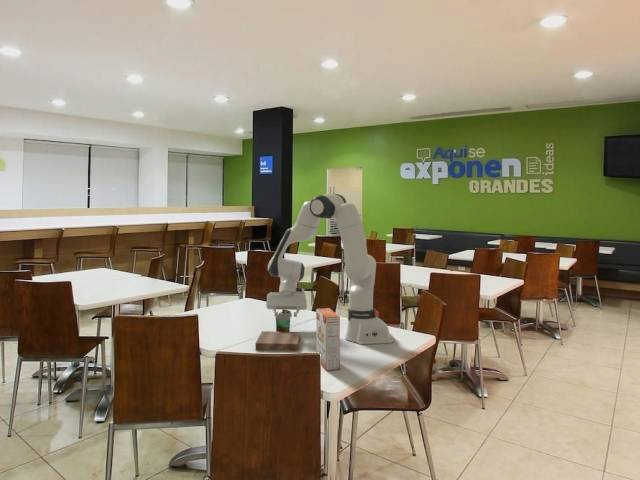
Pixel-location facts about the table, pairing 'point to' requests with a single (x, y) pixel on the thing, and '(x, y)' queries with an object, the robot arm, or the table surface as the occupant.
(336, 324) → the cracker box
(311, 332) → the table surface
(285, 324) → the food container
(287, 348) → the walnut stand
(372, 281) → the robot arm
